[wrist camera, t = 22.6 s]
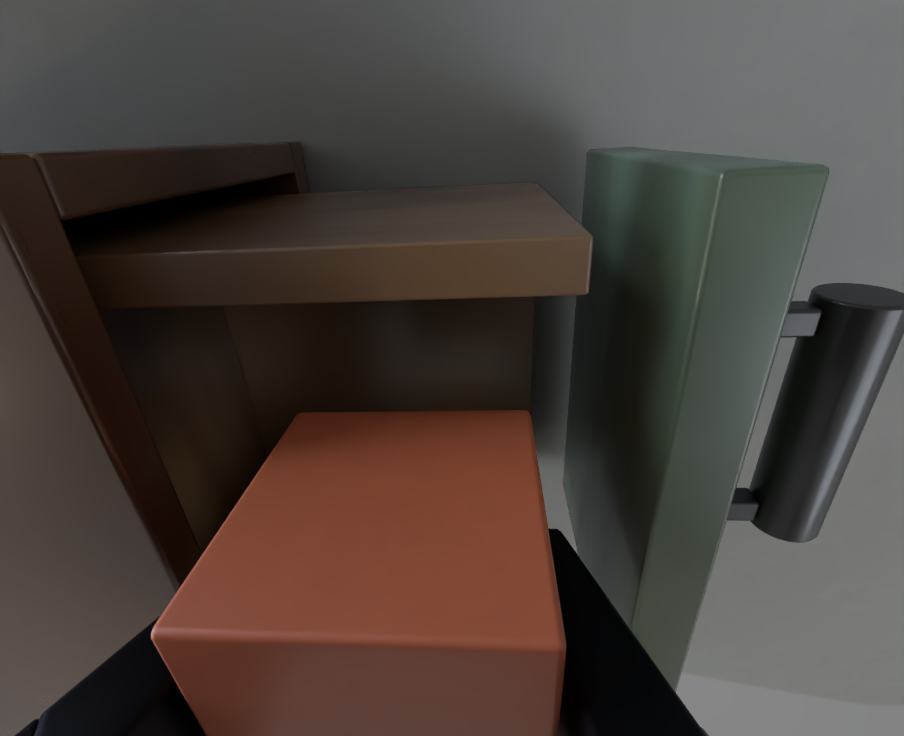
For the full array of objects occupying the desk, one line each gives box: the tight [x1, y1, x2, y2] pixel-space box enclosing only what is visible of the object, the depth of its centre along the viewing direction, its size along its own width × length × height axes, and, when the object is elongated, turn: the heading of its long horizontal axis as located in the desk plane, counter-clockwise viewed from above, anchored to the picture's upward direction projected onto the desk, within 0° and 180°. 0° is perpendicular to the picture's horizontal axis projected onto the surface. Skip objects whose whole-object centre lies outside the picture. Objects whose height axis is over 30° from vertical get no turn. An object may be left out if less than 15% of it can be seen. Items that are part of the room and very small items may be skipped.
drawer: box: [63, 147, 904, 692], centre depth 11 cm, size 17×11×8 cm
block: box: [151, 410, 567, 736], centre depth 7 cm, size 4×4×4 cm
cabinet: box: [0, 141, 309, 736], centre depth 12 cm, size 14×13×10 cm
